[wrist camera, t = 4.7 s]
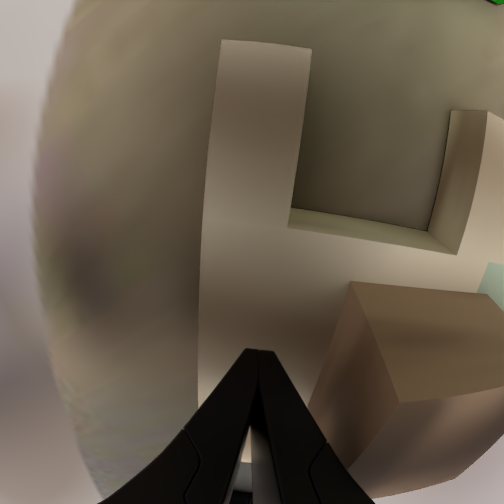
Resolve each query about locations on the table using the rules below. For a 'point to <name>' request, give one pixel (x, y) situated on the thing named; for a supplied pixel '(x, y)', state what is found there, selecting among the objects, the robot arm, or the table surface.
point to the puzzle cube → (498, 1)
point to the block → (411, 385)
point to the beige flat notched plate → (320, 224)
